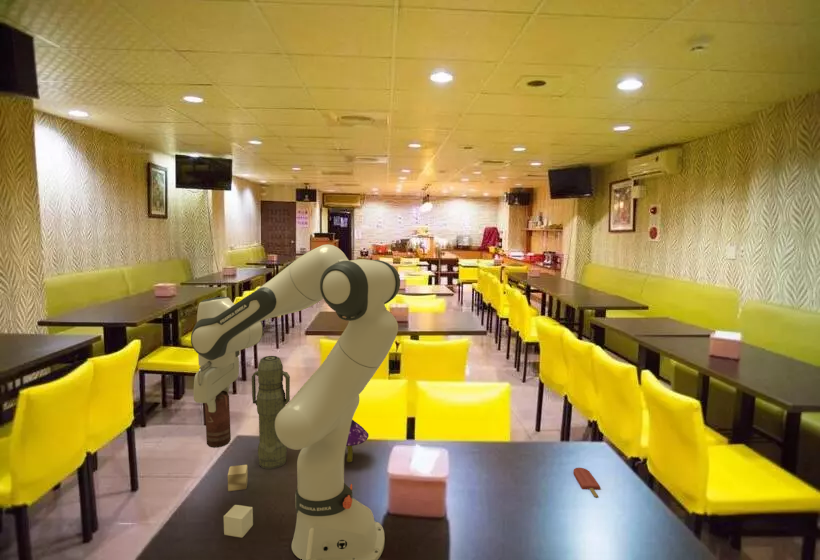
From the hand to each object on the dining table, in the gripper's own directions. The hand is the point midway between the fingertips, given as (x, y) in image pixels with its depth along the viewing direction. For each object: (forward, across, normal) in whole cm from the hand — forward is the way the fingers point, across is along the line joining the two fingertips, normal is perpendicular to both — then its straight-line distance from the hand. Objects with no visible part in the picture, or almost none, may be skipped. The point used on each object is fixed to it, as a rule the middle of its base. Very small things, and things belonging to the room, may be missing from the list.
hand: (218, 406), depth 126 cm
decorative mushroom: (+28, +24, -32) cm, 49 cm away
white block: (+28, -11, -9) cm, 32 cm away
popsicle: (+29, +14, -106) cm, 111 cm away
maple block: (+28, +9, -1) cm, 30 cm away
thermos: (+28, +23, -7) cm, 37 cm away
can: (+10, 0, 0) cm, 11 cm away
